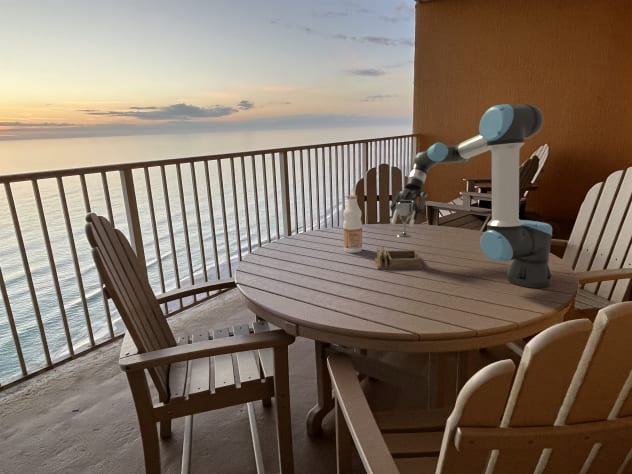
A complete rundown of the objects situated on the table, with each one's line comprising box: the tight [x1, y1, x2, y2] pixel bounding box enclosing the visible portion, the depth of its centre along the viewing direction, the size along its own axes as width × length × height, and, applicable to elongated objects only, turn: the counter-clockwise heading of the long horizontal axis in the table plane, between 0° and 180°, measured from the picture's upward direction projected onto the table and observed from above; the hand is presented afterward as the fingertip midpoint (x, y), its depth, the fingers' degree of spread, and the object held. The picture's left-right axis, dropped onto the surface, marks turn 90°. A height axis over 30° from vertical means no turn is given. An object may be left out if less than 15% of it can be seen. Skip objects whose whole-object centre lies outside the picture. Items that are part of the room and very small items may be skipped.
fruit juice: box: [342, 194, 363, 254], centre depth 189 cm, size 9×9×28 cm
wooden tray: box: [374, 246, 423, 270], centre depth 169 cm, size 14×19×6 cm
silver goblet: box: [395, 199, 415, 238], centre depth 165 cm, size 8×8×15 cm
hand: (401, 224), depth 163 cm, fingers closed on silver goblet, 7 cm apart
